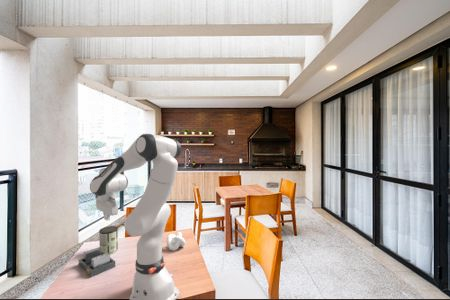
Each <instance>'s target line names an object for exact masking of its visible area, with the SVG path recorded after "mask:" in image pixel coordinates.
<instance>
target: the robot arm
mask: <svg viewBox="0 0 450 300" xmlns="http://www.w3.org/2000/svg"><path fill="white" fill-rule="evenodd" d="M181 153H182V145H181V143H180V142H179V141H178V140H177V139H174V138H169V137H167V136H164V135H159V134H151V133H143V134H141V135H140V136H138V138H136V139H135V140H134V141H133V143H131V145H130V146H129V147H128V149H126V151H124V152H123V153H122V154H121V155H119V156H118V157H116V158H115V159H113V160H112V161H111V162H110V163H109V164H108V165H107V166H106V167H105V168H104V167H103V168H101V169H100V170H99V172H98V175H96V176H95V177H94V178H93V179H92V180H91V181H90V183H89V189H90V190H89V191H90V192H91V193H92V194H94V195H95V196H94V197H95V205H96V206H95V207H96V209H97V210H98V211H100V212H102V214H103V218H104V220H105V221H110V219H111V218H110V217H111V216H116V215H118V214H119V202H118V201H117V200H116V197H117V196H116V195H117V193H119V192H122V191H125V190H126V189H127V188H128V185H129V181H128V178H127V176H126V175H125V174H124V173H123V172H126V171H129V170H134V169H135V170H136V169H138V168H141V167H142V166H144V165H145V164H147V163H148V162H151V161H152V164H153V165H152V166H153V167H152V170H151V171H150V174H149V178H148V181H147V184H146V187H145V190H144V191H143V193H142V196H141V197H140V199H139V201H138V202H137V203H136V205H135V207H134V208H133V210H132V211H131V212H130V213H129V214H128V215H127V216H126V217H125V219H124V222H123V223H124V224H123V225H124V230H125V232H126V233H127V234H128V236H130V237H139V236H140V237H139V239H138V241H137V242H136V259H135V270H136V271H135V273H134V276H133V279H132V289H131V294H130V295H129V300H177V299H178V297H179V296H180V295H181V294H180V293H181V291H180V290H179V288H178V287H176V285H175V282H174V275H173V273H172V272H171V273H169V271H168V268H167V267H166V266H165V265H166V262H165V260H164V256H163V239H164V235H165V234H164V233H165V230H166V225H167V224H168V223H167V222H168V220H169V218H170V216H171V214H172V209H171V206H170V204H168V203H167V201H168V200H169V198H170V196H171V193H172V190H173V188H174V183H175V180H176V178H177V173H178V167H179V166H178V165H179V163H178V160H177V159H178V158H179V157H180V156H181ZM122 173H123V174H122Z"/></svg>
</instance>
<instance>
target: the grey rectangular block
mask: <svg viewBox="0 0 450 300" xmlns="http://www.w3.org/2000/svg"><path fill="white" fill-rule="evenodd" d="M110 258H111V254H109V253H106V254H103V255H100V256H98V257H95V258H92V270H93V269H96V268H98V267H101V266H103V265H106V264H108V263H110Z"/></svg>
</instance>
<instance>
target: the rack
mask: <svg viewBox="0 0 450 300" xmlns="http://www.w3.org/2000/svg"><path fill="white" fill-rule="evenodd" d="M103 254H105V253H103V252H102V248H100V246H99V247H96V248H92V249H90V250H87V251H84V252H83V258H80V259H78V267H80V268H81V269H82V271H84V273H85V274H87V275H88V276H89V277H90V278H92V277H95V276H97V275H100V274H102V273H104V272H107V271H109V270H112V269H113V268H116V260H114V259H112V257H110V263H108V264H106V265H103V266H101V267H98V268H96V269H93V270H92V258H95V257H98V256H100V255H103Z"/></svg>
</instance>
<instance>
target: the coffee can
mask: <svg viewBox="0 0 450 300" xmlns="http://www.w3.org/2000/svg"><path fill="white" fill-rule="evenodd" d="M118 229H119V228H118V226H115V225H110V226H109V225H108V226H104V227H101V228H100V229H99V231H98V232H99V238H98V239H99V247H100V248H102V252H103V253H105V254H106V253H109V254H110V255H112V254H115V253H116V252H117V251H118V250H119V248H118V246H119V244H118V243H119V240H118V239H119V238H118V232H119V231H118Z"/></svg>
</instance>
